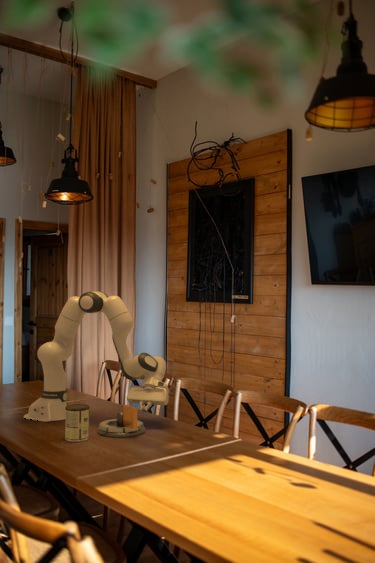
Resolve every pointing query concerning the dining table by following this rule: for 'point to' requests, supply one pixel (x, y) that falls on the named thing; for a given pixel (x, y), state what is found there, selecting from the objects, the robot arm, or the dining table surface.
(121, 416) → the grey disc with peg
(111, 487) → the dining table surface
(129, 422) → the curved stand with block
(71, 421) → the coffee can
